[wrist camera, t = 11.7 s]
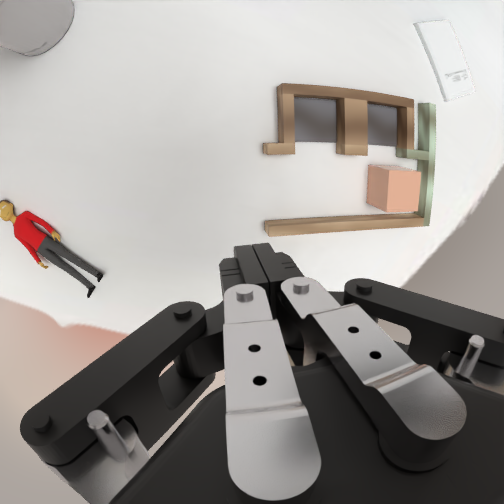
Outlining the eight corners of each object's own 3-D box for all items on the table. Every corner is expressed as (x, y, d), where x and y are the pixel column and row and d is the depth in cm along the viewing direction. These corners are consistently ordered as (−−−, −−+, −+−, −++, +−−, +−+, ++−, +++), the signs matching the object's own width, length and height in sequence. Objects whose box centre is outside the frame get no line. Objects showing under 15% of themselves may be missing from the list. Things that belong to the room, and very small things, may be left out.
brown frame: (261, 86, 31) (265, 82, 29) (424, 104, 34) (435, 104, 32) (265, 230, 37) (269, 236, 35) (418, 221, 40) (429, 225, 38)
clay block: (368, 164, 36) (389, 169, 32) (398, 166, 37) (421, 171, 32) (366, 202, 38) (386, 212, 33) (396, 202, 39) (417, 211, 34)
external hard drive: (444, 21, 29) (470, 91, 34) (411, 25, 30) (441, 101, 35) (450, 19, 28) (477, 91, 33) (417, 22, 28) (448, 101, 33)
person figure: (83, 307, 33) (-19, 220, 26) (87, 298, 36) (-6, 219, 30) (104, 274, 33) (0, 186, 27) (107, 268, 37) (12, 188, 31)
